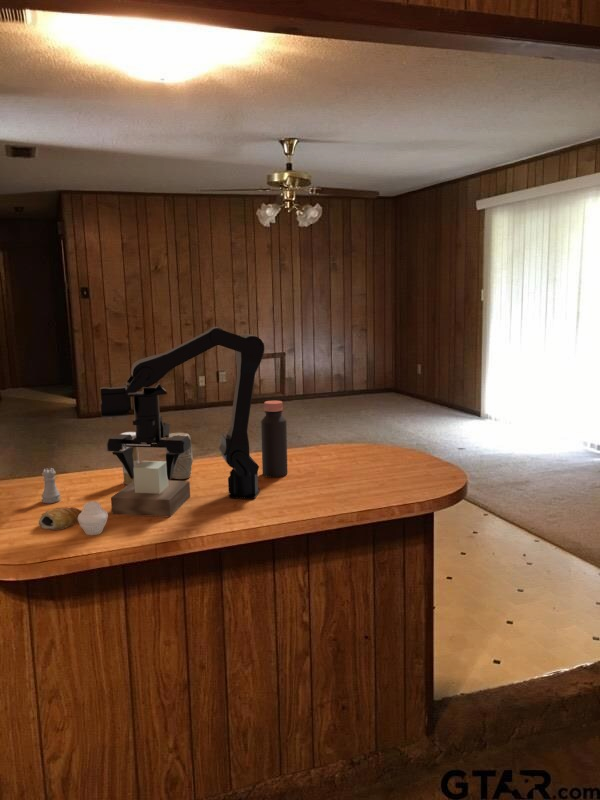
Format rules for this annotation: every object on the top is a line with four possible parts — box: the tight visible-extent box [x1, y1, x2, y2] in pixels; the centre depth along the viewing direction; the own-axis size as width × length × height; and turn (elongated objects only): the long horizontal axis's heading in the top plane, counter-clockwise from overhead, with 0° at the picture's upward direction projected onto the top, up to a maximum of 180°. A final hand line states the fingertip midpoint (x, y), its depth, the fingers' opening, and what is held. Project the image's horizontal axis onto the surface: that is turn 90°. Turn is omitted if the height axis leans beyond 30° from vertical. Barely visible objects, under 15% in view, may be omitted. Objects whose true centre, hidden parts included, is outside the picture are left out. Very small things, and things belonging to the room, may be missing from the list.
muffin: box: [77, 501, 109, 536], centre depth 143 cm, size 6×6×7 cm
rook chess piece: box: [41, 467, 62, 504], centre depth 164 cm, size 4×4×8 cm
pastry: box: [38, 506, 82, 531], centre depth 149 cm, size 9×7×4 cm
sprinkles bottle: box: [121, 431, 140, 486], centre depth 176 cm, size 5×5×14 cm
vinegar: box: [260, 400, 288, 478], centre depth 181 cm, size 7×7×20 cm
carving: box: [164, 432, 194, 480], centre depth 180 cm, size 6×8×12 cm
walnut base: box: [110, 479, 191, 518], centre depth 160 cm, size 14×14×4 cm
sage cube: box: [133, 460, 169, 494], centre depth 159 cm, size 6×6×6 cm
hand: (151, 478), depth 159 cm, fingers open, 9 cm apart
